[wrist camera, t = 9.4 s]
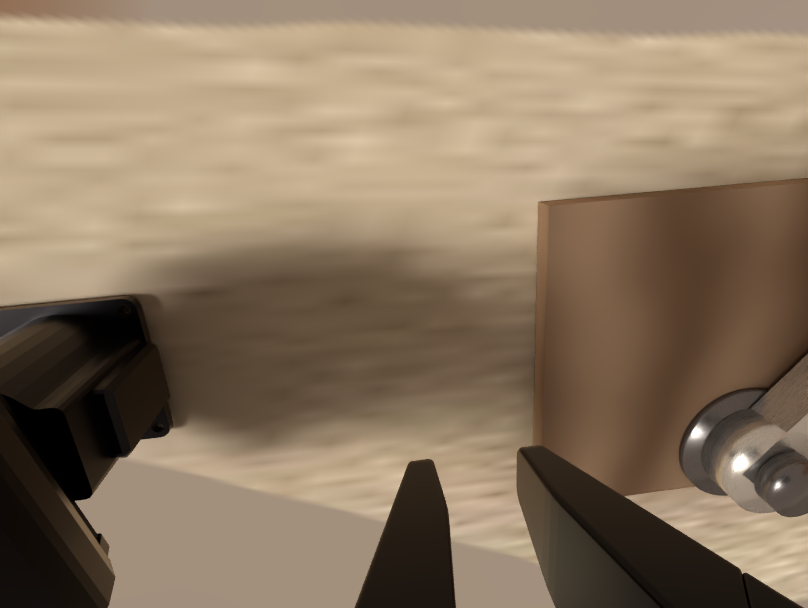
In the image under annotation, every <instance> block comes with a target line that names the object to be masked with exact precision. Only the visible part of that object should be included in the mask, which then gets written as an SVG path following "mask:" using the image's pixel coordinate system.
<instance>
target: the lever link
mask: <svg viewBox="0 0 808 608" xmlns="http://www.w3.org/2000/svg"><path fill="white" fill-rule="evenodd" d="M790 452H793V453H799V454H801V455H803V456H805V457H806V458H808V354H807V355H806V356H805V357H804V358H803V359H802V360H801V361H800V362H799V363H798V364H797V365H795V366H794V367H793V368H792V369H791V370H790V371H789V372H788V373H787V374H786V375H785V376H784V377H783V378H782V379H781V380H780V381H779V382H778V383H777V384H776V385H775V386H774V387H772V388H771V389H770V390H769V391H768V392H767V393H766V394H765V395H764V396H763V397H762V398H761V399H760V400H759V401H758V402H757V403H756V404H755V405H754V406H753V407H752V408H749V409H745V410H741V411H738V412H736V413H734V414H732V415H730V416H728V417H727V418H725V419H724V420H723V421H721V422H720V423H719V424H718V425H717V426H716V427H715V428H714V429H713V430H712V431H711V433H710V434H709V435H708V437H707V439H706V440H705V443H704V445H703V448H702V452H701V464H702V467H703V469H704V471H705V473H706V474H707V475H708V476H709V477H710V478H711V479H712V480H713V481H714V482H715V483H716V484H717V485H718V486H719V487H720V488H721V489H722V490H723V491H725V492H726V493H727V494H728V495H729V496H730V497H731V498H732V499H733V500H734V501H735V502H736V503H737V504H738V505H739V506H741V507H742V508H743V509H745V510H747V511H750V512H754V513H771V512H775V510H774V509H773V508H772V507H771V506H769V505H768V504H767V503H766V502H765V501H764V500H763V499H761V498H760V497H759V496H758V495H757V493H756V491H755V488H754V482H755V478H756V475H757V473H758V472H759V470H760V469H761V468H762V466H763V465H764V464H765V463H767V462H768V461H769V460H771V459H772V458H774V457H776V456H778V455H780V454H784V453H790Z"/></svg>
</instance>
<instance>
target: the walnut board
mask: <svg viewBox="0 0 808 608" xmlns="http://www.w3.org/2000/svg"><path fill="white" fill-rule="evenodd" d="M807 354H808V178H802V179H791V180H780V181H769V182H758V183H746V184H735V185H724V186H713V187H701V188H690V189H679V190H668V191H657V192H645V193H634V194H623V195H612V196H600V197H589V198H578V199H567V200H556V201H544V202H538V242H537V287H536V332H535V377H534V422H533V446H537V445H541V446H544V447H546V448H547V449H549V450H550V451H552V452H554V453H555V454H557V455H558V456H560V457H562V458H563V459H565V460H566V461H568V462H570V463H571V464H573V465H574V466H576V467H578V468H579V469H581V470H582V471H584V472H586V473H587V474H589V475H590V476H592V477H594V478H595V479H597V480H598V481H600V482H602V483H603V484H605V485H606V486H608V487H610V488H611V489H613V490H614V491H616V492H618V493H619V494H621V495H623V496H627V495H635V494H642V493H649V492H657V491H664V490H671V489H678V488H686V487H693V486H695V485H694V484H693V483H692V482H691V481H690V480H689V479H688V478H687V477H686V476H685V474H684V473H683V471H682V469H681V466H680V462H679V446H680V442H681V439H682V436H683V434H684V432H685V430H686V428H687V426H688V425H689V423H690V422H691V420H692V419H693V418H694V417H695V416H696V414H697V413H698V412H699V411H700V410H701V409H703V408H704V407H705V406H706V405H707V404H709V403H710V402H712V401H713V400H715V399H716V398H718V397H720V396H722V395H724V394H726V393H729V392H731V391H735V390H738V389H743V388H764V389H768V390H770V389H771V388H772V387H774V386H775V385H776V384H777V383H778V382H779V381H780V380H781V379H782V378H783V377H784V376H785V375H786V374H787V373H788V372H789V371H790V370H791V369H792V368H793V367H794V366H795V365H797V364H798V363H799V362H800V361H801V360H802V359H803V358H804V357H805V356H806V355H807Z"/></svg>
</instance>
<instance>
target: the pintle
mask: <svg viewBox="0 0 808 608" xmlns="http://www.w3.org/2000/svg"><path fill="white" fill-rule="evenodd" d="M768 391H769V390H768V389H764V388H743V389H738V390H735V391H731V392H729V393H726V394H724V395H722V396H720V397H718V398H716V399H715V400H713V401H712V402H710V403H709V404H707V405H706V406H705V407H704V408H703V409H701V410H700V411H699V412H698V413H697V414H696V416H695V417H694V418H693V419H692V420H691V422H690V423H689V425H688V426H687V428H686V430H685V432H684V434H683V436H682V439H681V442H680V446H679V462H680V466H681V469H682V471H683V473H684V474H685V476H686V477H687V478H688V479H689V480H690V481H691V482H692V483H693V484H694V485H695V486H696V487H697V488H699V489H700V490H702V491H704V492H706V493H710V494H714V495H728V494H727V493H726V492H725V491H723V490H722V489H721V488H720V487H719V486H718V485H717V484H716V483H715V482H714V481H713V480H712V479H711V478H710V477H709V476H708V475H707V474H706V473H705V471H704V469H703V467H702V464H701V452H702V448H703V445H704V443H705V440H706V439H707V437H708V435H709V434H710V433H711V431H712V430H713V429H714V428H715V427H716V426H717V425H718V424H719V423H720V422H721V421H723V420H724V419H725V418H727V417H728V416H730V415H732V414H734V413H736V412H738V411H741V410H745V409H749V408H752V407H753V406H754V405H755V404H756V403H757V402H758V401H759V400H760V399H761V398H762V397H763V396H764V395H765V394H766V393H767V392H768ZM754 488H755V491H756V493H757V495H758V496H759V497H760V498H761V499H763V500H764V501H765V502H766V503H767V504H768V505H769V506H771V507H772V508H773V509H774V510H775V511H776V512H777V513H779V514H780V515H782V516H785V517H797V516H801V515H804V514H807V513H808V458H806V457H805V456H803V455H801V454H799V453H793V452H790V453H784V454H780V455H778V456H776V457H774V458H772V459H771V460H769V461H768V462H767V463H765V464H764V465H763V466H762V468H761V469H760V470H759V472H758V473H757V475H756V478H755V482H754Z"/></svg>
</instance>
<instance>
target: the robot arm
mask: <svg viewBox="0 0 808 608" xmlns="http://www.w3.org/2000/svg"><path fill="white" fill-rule="evenodd" d="M122 305H127V306H128V307H129V308H130V309H131V313H126V312H125V311H123V309H122ZM169 398H170V393H169V389H168V385H167V382H166V378H165V374H164V370H163V367H162V363H161V359H160V356H159V352H158V348H157V346H156V345H155V344H153V343H152V342H151V340H150V337H149V333H148V329H147V326H146V322H145V318H144V315H143V311H142V307H141V305H140V303H139V301H138V300H137V299H135V298H134V297H131V296H117V297H107V298H96V299H86V300H76V301H66V302H55V303H45V304H35V305H25V306H14V307H4V308H0V608H107V607H108V605H109V602H110V598H111V594H112V589H113V585H114V581H115V575H114V571H113V568H112V565H111V562H110V559H109V558H108V551H109V544H108V543H107V541H106V540H105V539H104V537H103V536H102V534H97V533H96V532H95V530H94V529H93V528H92V526H91V525H90V523H89V522H88V520H87V519H86V517H85V516H84V514H83V513H82V511H81V510H80V508H79V507H78V505H77V504H76V503H75V500H76V501H77V500H84V499H88V498H90V497H91V495H92V494H93V493H94V492H95V490H96V489H97V487H98V486H99V485H100V483H101V482H102V481H103V479H104V478H105V476H106V475H107V474H108V472H109V471H110V470H111V468H112V467H113V465H114V464H115V463H116V461H117V460H118V459H119V458H125V457H127V456H129V455H130V453H131V452H132V451H133V450H134V448H135V447H136V445H137V444H138V442H139V441H140V440H141V439H150V438H158V437H163V436H165V435H167V434H168V433H169V431H170V429H171V428H172V425H173V421H172V417H171V413H170V410H169V406H168V402H167V401H168V399H169ZM155 423H161V424H162V425H163V426H164V427H158V426H157V425H156V424H155ZM517 494H518V499H519V503H520V506H521V509H522V512H523V515H524V518H525V521H526V524H527V527H528V530H529V534H530V537H531V540H532V543H533V546H534V549H535V552H536V555H537V558H538V561H539V564H540V568H541V571H542V574H543V576H544V580H545V582H546V585H547V588H548V591H549V593H550V595H551V598H552V600H553V603H554V605H555V607H556V608H803V607H802V606H800V605H798V604H797V603H795V602H793V601H792V600H790V599H788V598H787V597H785V596H783V595H782V594H780V593H778V592H777V591H775V590H773V589H772V588H770V587H769V586H767V585H765V584H764V583H762V582H761V581H759V580H757V579H756V578H754V577H753V576H751V575H749V574H748V573H743V574H742V572H741V570H740V569H739V568H738V567H736V566H735V565H733V564H731V563H730V562H728V561H727V560H725V559H723V558H722V557H720V556H719V555H717V554H715V553H714V552H712V551H711V550H709V549H707V548H706V547H704V546H703V545H701V544H699V543H698V542H696V541H695V540H693V539H691V538H690V537H688V536H687V535H685V534H683V533H682V532H680V531H679V530H677V529H675V528H674V527H672V526H671V525H669V524H667V523H666V522H664V521H663V520H661V519H659V518H658V517H656V516H655V515H653V514H651V513H650V512H648V511H647V510H645V509H643V508H642V507H640V506H639V505H637V504H635V503H634V502H632V501H631V500H629V499H627V498H626V497H624V496H623V495H621V494H619V493H618V492H616V491H614V490H613V489H611V488H610V487H608V486H606V485H605V484H603V483H602V482H600V481H598V480H597V479H595V478H594V477H592V476H590V475H589V474H587V473H586V472H584V471H582V470H581V469H579V468H578V467H576V466H574V465H573V464H571V463H570V462H568V461H566V460H565V459H563V458H562V457H560V456H558V455H557V454H555V453H554V452H552V451H550V450H549V449H547V448H546V447H544V446H541V445H537V446H529V447H522V448H520V449H519V450H518V453H517ZM355 608H456V602H455V590H454V576H453V563H452V550H451V537H450V524H449V514H448V508H447V504H446V500H445V497H444V494H443V491H442V487H441V484H440V481H439V478H438V474H437V471H436V468H435V465H434V462H433V461H432V460H431V459H425V460H417V461H411V462H410V463H409V464H408V466H407V468H406V471H405V474H404V476H403V479H402V482H401V484H400V487H399V490H398V492H397V495H396V498H395V501H394V503H393V506H392V509H391V511H390V514H389V517H388V519H387V522H386V525H385V528H384V530H383V533H382V535H381V538H380V541H379V544H378V546H377V549H376V552H375V554H374V558H373V560H372V562H371V565H370V568H369V570H368V573H367V576H366V579H365V581H364V584H363V586H362V589H361V592H360V594H359V597H358V600H357V603H356V605H355Z"/></svg>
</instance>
